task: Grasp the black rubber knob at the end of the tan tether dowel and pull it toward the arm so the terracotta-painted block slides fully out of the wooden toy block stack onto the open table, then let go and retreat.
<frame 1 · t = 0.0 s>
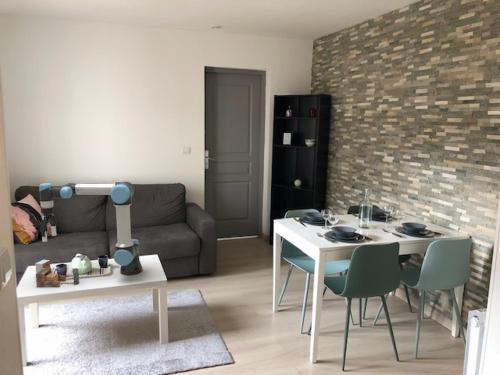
hand: (49, 238, 274), 28 cm above the table, fingers open, 13 cm apart
wooden toy block stack: (51, 283, 270), on the table
small box: (43, 276, 282), on the table
tethered block: (51, 283, 270), on the table
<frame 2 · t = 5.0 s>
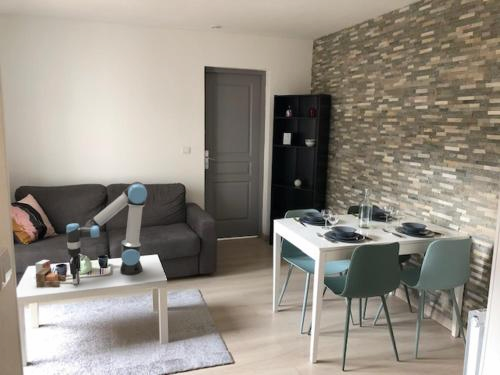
hand: (76, 282, 270), 1 cm above the table, fingers closed on tethered block, 3 cm apart
tethered block: (51, 283, 270), on the table, touching gripper
everything else where it was.
when the fingers open (1 cm above the table, at t = 10.2 s): tethered block stays where it is, on the table.
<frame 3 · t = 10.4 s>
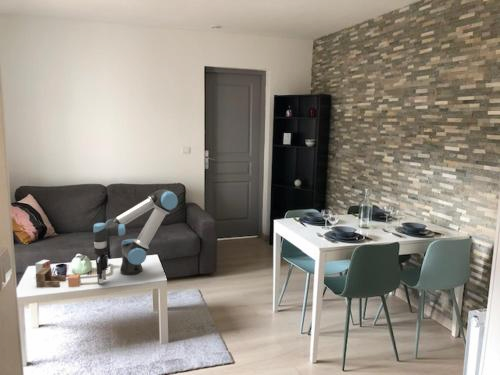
hand: (102, 281, 270), 2 cm above the table, fingers open, 5 cm apart
tethered block: (74, 284, 268), on the table
everything else where it was.
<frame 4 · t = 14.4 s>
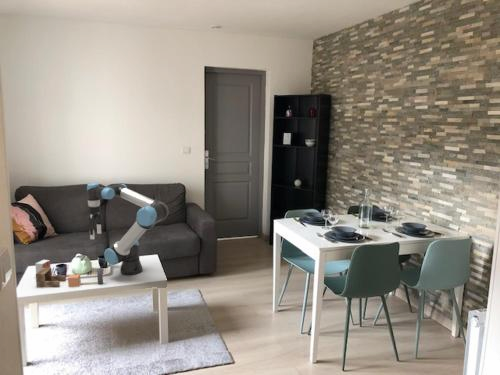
hand: (96, 236, 284), 27 cm above the table, fingers open, 13 cm apart
nothing on the table moved.
at the end: tethered block inside the target area on the table beside the wooden toy block stack (2.9 cm from its centre), on the table; the gripper is holding nothing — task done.
